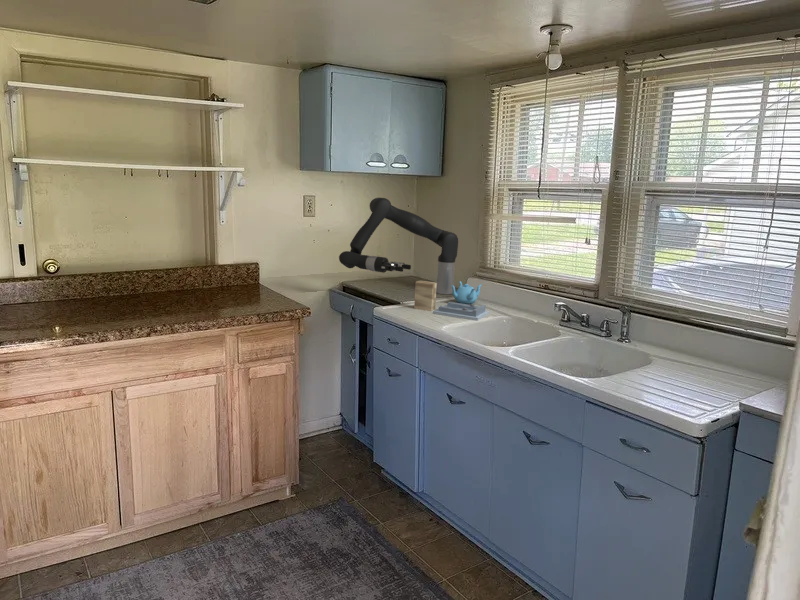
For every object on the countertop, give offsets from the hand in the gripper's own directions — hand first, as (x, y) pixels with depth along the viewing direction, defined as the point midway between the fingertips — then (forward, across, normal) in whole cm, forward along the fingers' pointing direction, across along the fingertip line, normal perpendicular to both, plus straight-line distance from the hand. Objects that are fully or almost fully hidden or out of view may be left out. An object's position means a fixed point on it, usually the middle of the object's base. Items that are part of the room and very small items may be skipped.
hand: (406, 268), depth 283 cm
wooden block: (+11, 0, +18) cm, 21 cm away
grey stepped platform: (+29, +2, +18) cm, 34 cm away
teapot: (+23, +23, +18) cm, 37 cm away
